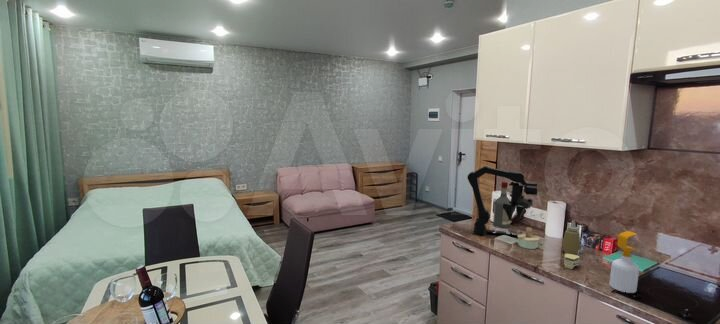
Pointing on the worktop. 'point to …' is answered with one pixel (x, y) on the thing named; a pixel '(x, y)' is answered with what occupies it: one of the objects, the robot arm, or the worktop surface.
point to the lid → (528, 235)
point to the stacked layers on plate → (571, 261)
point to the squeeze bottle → (571, 239)
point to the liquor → (501, 209)
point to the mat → (507, 239)
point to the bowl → (527, 244)
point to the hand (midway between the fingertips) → (514, 219)
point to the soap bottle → (624, 267)
